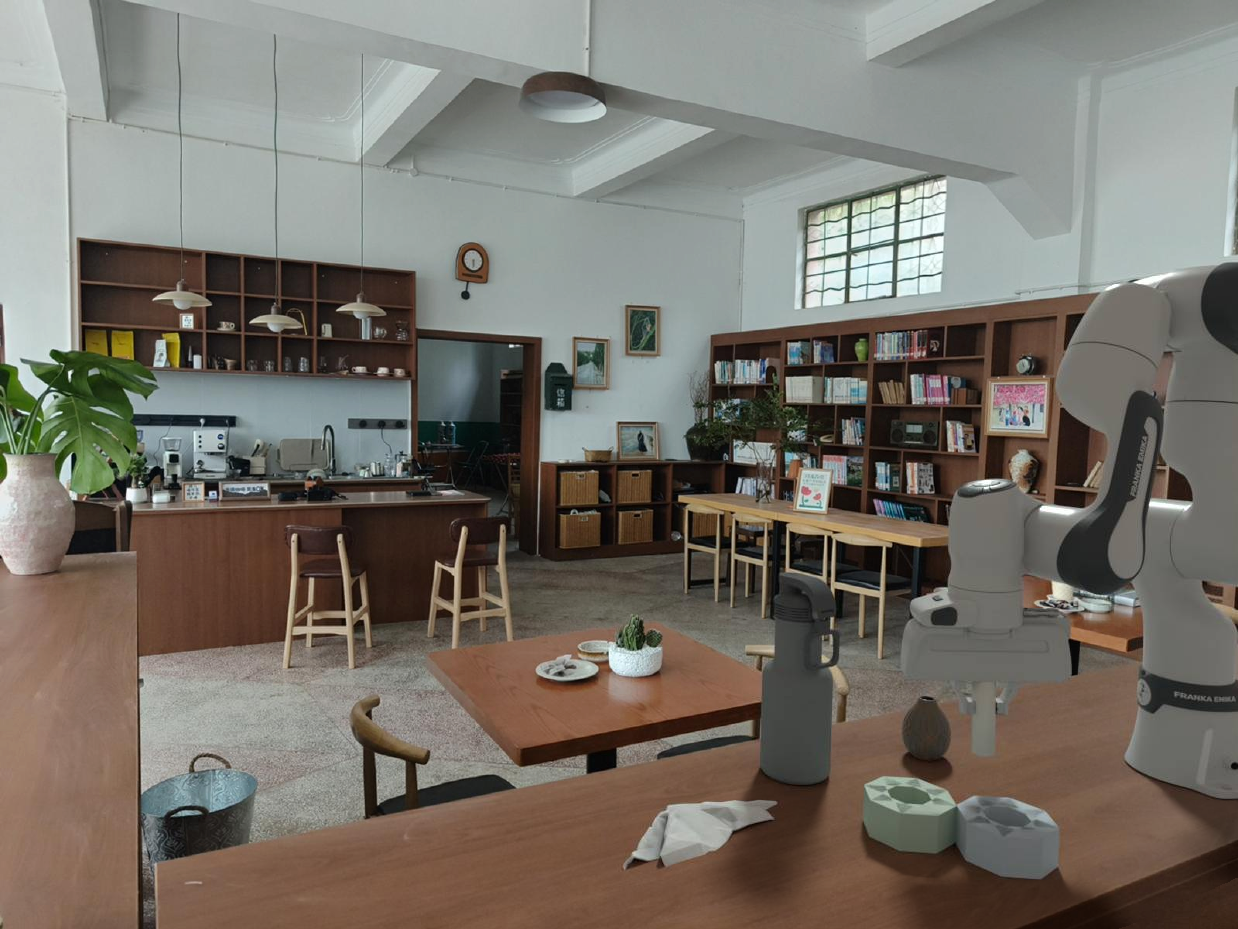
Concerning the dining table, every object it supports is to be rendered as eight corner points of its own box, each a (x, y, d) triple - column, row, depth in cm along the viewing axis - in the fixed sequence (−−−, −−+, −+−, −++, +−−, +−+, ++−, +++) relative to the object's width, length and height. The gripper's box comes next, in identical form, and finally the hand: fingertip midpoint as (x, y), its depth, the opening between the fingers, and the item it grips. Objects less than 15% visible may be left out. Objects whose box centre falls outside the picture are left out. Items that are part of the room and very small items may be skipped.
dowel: (990, 748, 108) (992, 658, 107) (998, 757, 105) (999, 665, 104) (968, 747, 108) (969, 657, 107) (975, 756, 105) (976, 664, 104)
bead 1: (939, 814, 105) (940, 779, 105) (962, 855, 95) (964, 817, 95) (858, 808, 106) (859, 774, 106) (873, 849, 96) (874, 811, 96)
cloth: (754, 790, 113) (754, 773, 113) (821, 836, 101) (822, 818, 101) (580, 831, 101) (580, 813, 101) (633, 889, 89) (634, 869, 89)
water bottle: (847, 778, 115) (853, 580, 114) (795, 794, 110) (801, 587, 109) (795, 753, 124) (800, 568, 122) (745, 766, 119) (750, 573, 117)
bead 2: (1033, 835, 100) (1035, 799, 100) (1069, 881, 90) (1071, 841, 90) (947, 829, 101) (949, 794, 101) (973, 874, 91) (975, 835, 91)
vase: (954, 767, 120) (956, 707, 119) (904, 762, 121) (906, 703, 121) (945, 748, 126) (947, 692, 126) (898, 744, 128) (900, 688, 127)
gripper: (1060, 602, 107) (1058, 706, 108) (897, 601, 109) (897, 702, 110) (1082, 614, 101) (1079, 724, 102) (909, 613, 103) (908, 721, 104)
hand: (983, 713), depth 106 cm, fingers closed on dowel, 3 cm apart
